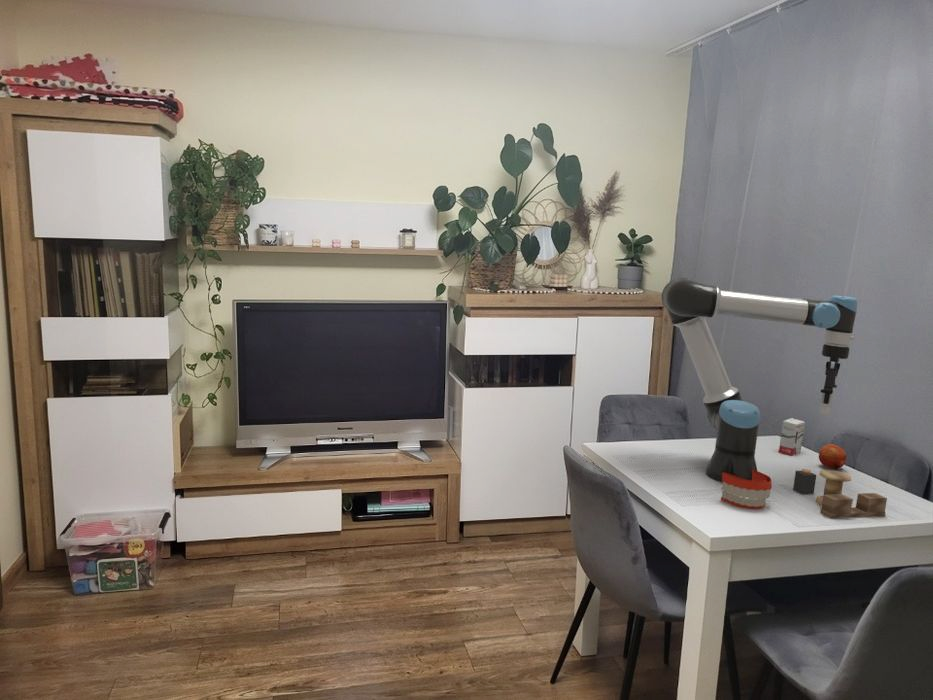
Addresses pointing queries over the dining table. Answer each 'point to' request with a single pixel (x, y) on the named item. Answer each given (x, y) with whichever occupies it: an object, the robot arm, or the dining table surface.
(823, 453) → the apple
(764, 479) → the toy
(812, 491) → the dark grey rectangular block
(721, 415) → the robot arm
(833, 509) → the brown wooden u-shaped block
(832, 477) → the wooden spool
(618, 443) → the dining table surface
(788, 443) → the ink box
